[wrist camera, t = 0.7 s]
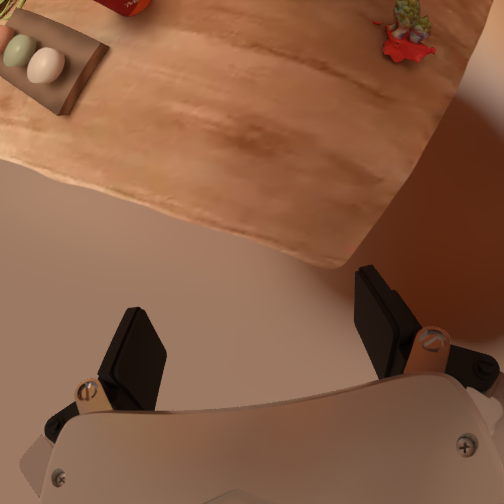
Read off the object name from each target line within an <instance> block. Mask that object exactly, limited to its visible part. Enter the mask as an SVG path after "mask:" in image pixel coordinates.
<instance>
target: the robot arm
mask: <svg viewBox="0 0 504 504" xmlns="http://www.w3.org/2000/svg"><path fill="white" fill-rule="evenodd" d="M354 323H355V326H356V328H357V331H358V333H359V335H360V337H361V339H362V342H363V344H364V346H365V348H366V351H367V353H368V355H369V357H370V360H371V362H372V364H373V366H374V369H375V371H376V374H377V376H378V378H379V380H376V381H372V382H368V383H365V384H361V385H357V386H353V387H349V388H344V389H340V390H336V391H332V392H327V393H323V394H318V395H313V396H308V397H303V398H297V399H292V400H286V401H280V402H274V403H266V404H259V405H251V406H243V407H232V408H221V409H206V410H184V411H154V410H155V406H156V401H157V396H158V392H159V387H160V383H161V379H162V375H163V370H164V366H165V362H166V358H167V353H166V350H165V348H164V346H163V344H162V342H161V340H160V339H159V337H158V335H157V333H156V331H155V329H154V327H153V325H152V324H151V322H150V320H149V318H148V316H147V314H146V312H145V310H143V309H141V308H140V307H133V308H128V309H127V310H126V312H125V314H124V316H123V318H122V320H121V322H120V324H119V326H118V328H117V331H116V333H115V335H114V337H113V339H112V341H111V344H110V346H109V348H108V350H107V353H106V355H105V357H104V359H103V362H102V364H101V366H100V369H99V371H98V375H99V377H98V380H97V379H94V378H90V379H86V380H84V381H83V382H81V383H80V384H79V385H78V387H77V388H76V390H75V394H74V396H75V402H73V403H72V404H70V405H69V406H67V407H66V408H64V409H63V410H61V411H60V412H58V413H57V414H55V415H54V416H52V417H51V418H50V419H49V420H48V421H47V423H46V425H45V430H44V431H45V436H43V435H41V436H40V437H39V438H38V439H37V440H36V441H35V442H34V443H33V445H32V446H31V447H30V448H29V449H28V450H27V451H26V453H25V454H24V455H23V456H22V458H21V460H20V469H21V471H22V473H23V474H24V476H25V478H26V479H27V481H28V482H29V484H30V485H31V487H32V488H33V490H34V491H35V492H36V494H37V495H38V497H39V498H40V502H39V504H504V373H503V372H501V371H500V368H499V365H498V363H497V361H496V360H495V359H494V358H493V357H491V356H489V355H487V354H483V353H479V352H475V351H472V350H469V349H465V348H462V347H458V346H454V345H451V344H450V337H449V335H448V334H447V333H446V332H445V331H444V330H442V329H441V328H438V327H426V328H422V326H421V325H420V324H419V322H418V321H417V319H416V318H415V316H414V315H413V313H412V312H411V310H410V309H409V308H408V306H407V305H406V304H405V302H404V301H403V299H402V298H401V297H400V295H399V294H398V293H397V292H396V291H395V290H391V289H390V288H389V286H388V285H387V284H386V282H385V281H384V279H383V278H382V277H381V276H380V274H379V273H378V271H377V270H376V269H375V268H374V266H373V265H368V266H363V267H360V268H359V271H356V272H355V305H354Z"/></svg>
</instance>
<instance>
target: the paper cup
mask: <svg viewBox="0 0 504 504" xmlns="http://www.w3.org/2000/svg"><path fill="white" fill-rule="evenodd" d="M94 1H96V2H98V3H100V4H102V5H103V6H105V7H107V8H109V9H111V10H113V11H115V12H117V13H119V14H121V15H123V16H133V15H136V14H138V13H140V12H142V11H143V10H144V9H145V8H146V7H147V6H148V5H149V4H150V2H151V0H94Z"/></svg>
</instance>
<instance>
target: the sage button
mask: <svg viewBox="0 0 504 504" xmlns="http://www.w3.org/2000/svg"><path fill="white" fill-rule="evenodd" d="M35 49H36V40H35V38H34V37H31V36H27V35H22V34H19V35H17V36H15V37H14V38H13V39H12V40H11V41H10V42H9V44H8V45H7V47H6V49H5V52H4V57H3V61H4V64H5V65H6V66H8V67H22V66H24V65H26V64H27V63H28V62H29V61H30V59H31V58H32V56H33V54H34V52H35Z"/></svg>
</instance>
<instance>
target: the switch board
mask: <svg viewBox="0 0 504 504" xmlns="http://www.w3.org/2000/svg"><path fill="white" fill-rule="evenodd" d="M5 26H8V27H12V28H13V29H14V36H13V38H14V37H15V36H17V35H19V34H22V35H27V36H31V37H34V38H35V40H36V49H35V52H34V54H35V53H36V52H37V51H38V50H40V49H42V48H45V47H47V48H52V49H56V50H60V51H61V52H62V53H63V54H64V57H65V63H64V67H63V70H62V72H61V73H60V75H59V76H58V77H57V79H55V80H54V81H53V82H51V83H47V84H46V83H32V82H30V81H29V79H28V76H27V68H28V64H29V62H30V61H29V62H28V63H27V64H26V65H24V66H22V67H8V66H6V65H5V64H4V61H3V57H4V53H3V54H1V55H0V76H1V77H3V78H4V79H5V80H7V81H8V82H10V83H11V84H13V85H14V86H16V87H17V88H18V89H20V90H21V91H23V92H24V93H26V94H27V95H29V96H30V97H31V98H33V99H34V100H36V101H37V102H39V103H40V104H41V105H43V106H44V107H46V108H47V109H49V110H50V111H52V112H53V113H54V114H56V115H57V116H60V115H68V114H69V112H70V110H71V108H72V107H73V105H74V103H75V101H76V99H77V97H78V96H79V94H80V92H81V90H82V89H83V87H84V85H85V83H86V82H87V80H88V79H89V77H90V75H91V74H92V72H93V71H94V69H95V67H96V66H97V64H98V63H99V61H100V60H101V58H102V57H103V55H104V54H105V53H106V51H107V50H108V48H109V46H107V45H105V44H103V43H101V42H99V41H97V40H95V39H93V38H91V37H89V36H87V35H84V34H82V33H80V32H78V31H76V30H74V29H72V28H69V27H67V26H65V25H62V24H60V23H58V22H55V21H53V20H50V19H48V18H45V17H43V16H40V15H38V14H35V13H32V12H30V11H27V10H24V9H20V8H17V7H16V9H15V10H14V12H13V13H12V15H11V17H10V18H9V20H8V21H7V23H6V25H5ZM34 54H33V55H34ZM32 57H33V56H32ZM30 60H31V59H30Z"/></svg>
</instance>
